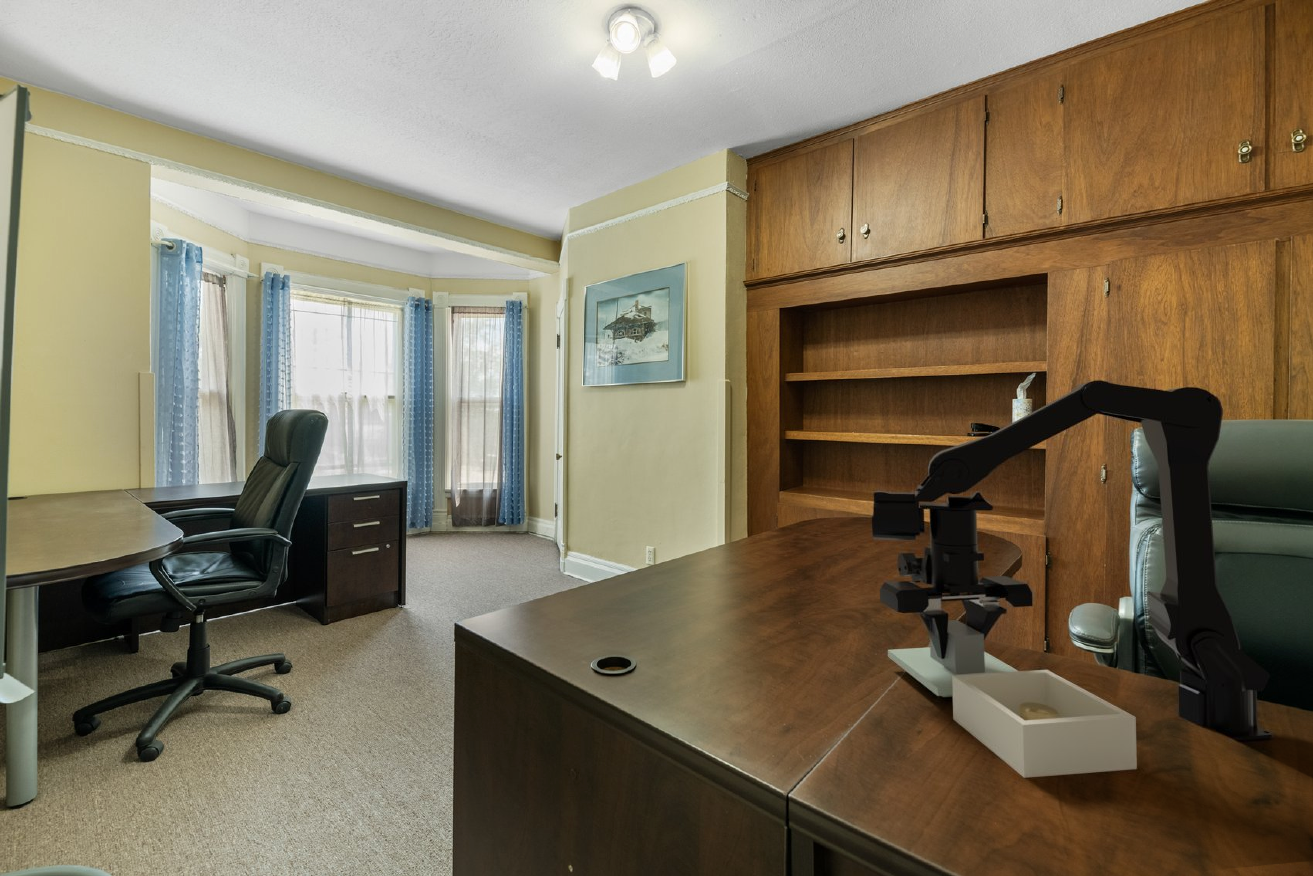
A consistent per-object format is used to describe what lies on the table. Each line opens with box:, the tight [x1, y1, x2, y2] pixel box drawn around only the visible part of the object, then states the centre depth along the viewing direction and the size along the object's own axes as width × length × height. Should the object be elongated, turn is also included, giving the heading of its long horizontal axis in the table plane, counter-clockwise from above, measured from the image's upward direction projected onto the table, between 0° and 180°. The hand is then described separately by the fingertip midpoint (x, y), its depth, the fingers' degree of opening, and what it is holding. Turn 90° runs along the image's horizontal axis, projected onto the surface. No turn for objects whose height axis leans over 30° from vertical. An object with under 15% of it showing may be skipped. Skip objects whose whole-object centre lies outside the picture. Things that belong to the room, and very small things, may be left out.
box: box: [952, 669, 1138, 779], centre depth 64 cm, size 12×12×6 cm
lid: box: [887, 619, 1019, 698], centre depth 79 cm, size 13×13×7 cm
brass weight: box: [1020, 702, 1058, 720], centre depth 66 cm, size 4×4×3 cm
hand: (956, 657), depth 79 cm, fingers closed on lid, 4 cm apart
